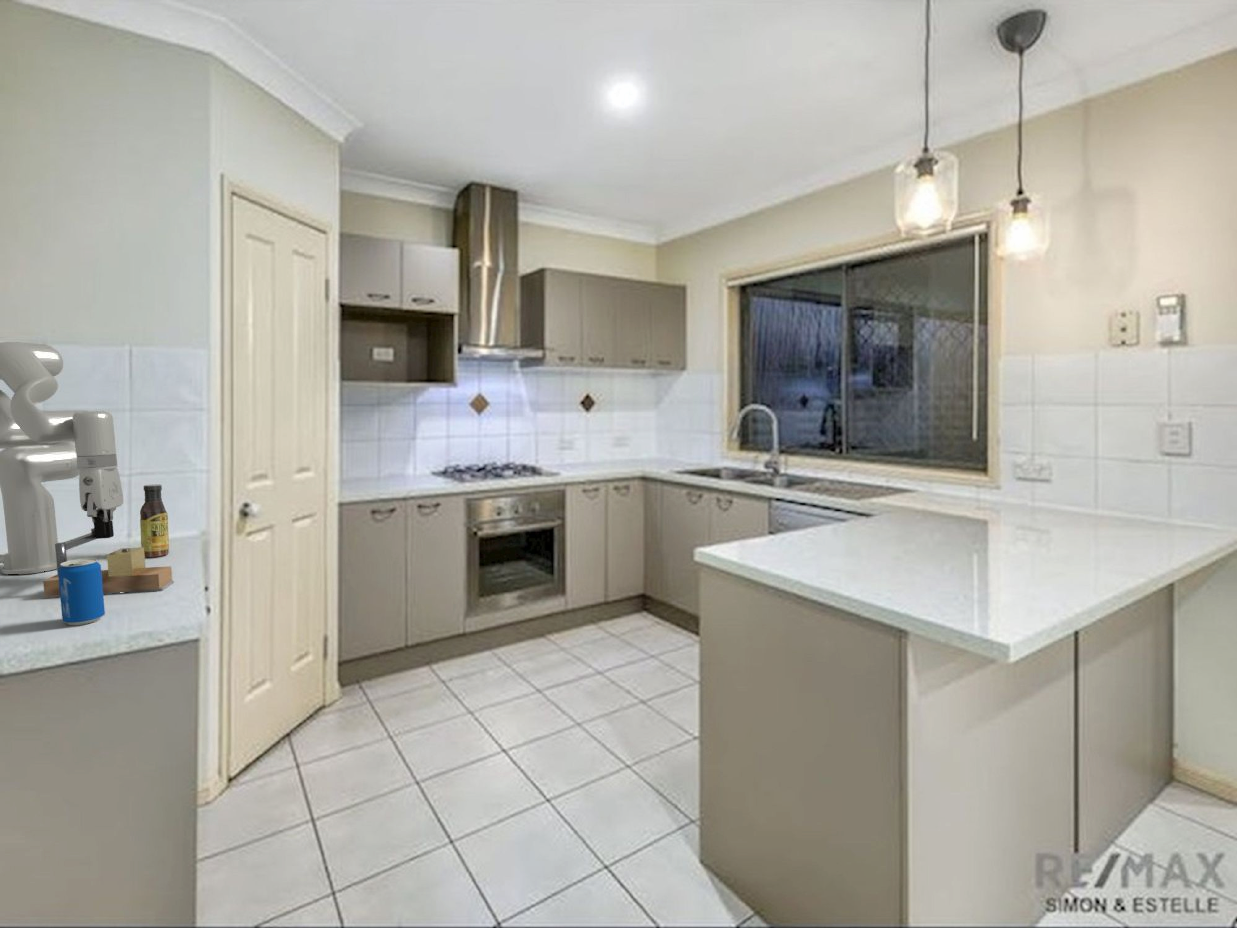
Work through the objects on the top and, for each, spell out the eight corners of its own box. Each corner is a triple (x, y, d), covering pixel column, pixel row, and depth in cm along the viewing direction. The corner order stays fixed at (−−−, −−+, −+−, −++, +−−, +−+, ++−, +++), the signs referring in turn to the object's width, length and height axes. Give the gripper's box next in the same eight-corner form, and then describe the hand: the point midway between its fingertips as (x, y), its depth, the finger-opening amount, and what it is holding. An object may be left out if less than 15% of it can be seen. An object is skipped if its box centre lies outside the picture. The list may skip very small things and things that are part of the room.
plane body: (42, 598, 141) (40, 581, 140) (61, 589, 147) (59, 572, 147) (161, 591, 146) (160, 574, 146) (174, 582, 153) (173, 566, 153)
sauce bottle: (155, 559, 175) (149, 487, 173) (136, 557, 176) (130, 486, 174) (176, 553, 181) (171, 483, 179) (157, 552, 182) (152, 483, 180)
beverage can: (53, 625, 124) (48, 565, 123) (86, 614, 131) (81, 557, 129) (82, 627, 123) (77, 566, 122) (113, 616, 130) (108, 558, 128)
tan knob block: (108, 576, 144) (106, 553, 143) (122, 569, 150) (120, 546, 149) (132, 575, 145) (130, 551, 144) (145, 567, 151) (143, 545, 150)
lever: (66, 575, 143) (63, 541, 143) (54, 576, 143) (51, 542, 142) (108, 557, 159) (105, 527, 158) (97, 558, 159) (94, 527, 158)
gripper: (98, 464, 148) (106, 543, 149) (130, 459, 162) (137, 530, 164) (60, 466, 146) (68, 545, 148) (95, 460, 160) (102, 532, 162)
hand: (104, 537), depth 156 cm, fingers closed
